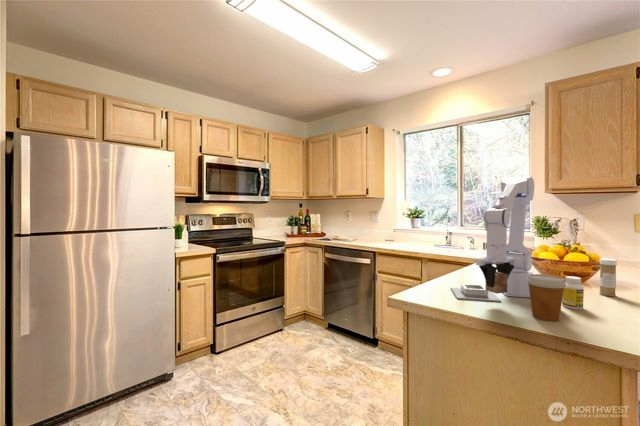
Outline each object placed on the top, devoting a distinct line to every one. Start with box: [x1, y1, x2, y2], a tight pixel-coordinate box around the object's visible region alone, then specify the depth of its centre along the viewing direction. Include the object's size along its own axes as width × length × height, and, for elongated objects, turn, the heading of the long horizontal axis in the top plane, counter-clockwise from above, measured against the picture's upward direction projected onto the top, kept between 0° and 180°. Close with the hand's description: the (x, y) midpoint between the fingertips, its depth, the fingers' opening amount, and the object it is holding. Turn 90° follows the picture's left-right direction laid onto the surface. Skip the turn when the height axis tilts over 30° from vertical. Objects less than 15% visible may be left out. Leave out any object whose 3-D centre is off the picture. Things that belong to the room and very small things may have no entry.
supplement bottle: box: [561, 275, 585, 310], centre depth 100 cm, size 5×5×10 cm
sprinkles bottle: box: [598, 257, 618, 297], centre depth 114 cm, size 5×5×14 cm
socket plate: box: [450, 287, 502, 303], centre depth 114 cm, size 14×14×1 cm
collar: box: [460, 283, 488, 297], centre depth 114 cm, size 8×8×2 cm
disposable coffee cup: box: [527, 273, 566, 322], centre depth 91 cm, size 10×10×12 cm
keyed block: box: [485, 270, 507, 294], centre depth 101 cm, size 4×4×6 cm
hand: (496, 286), depth 101 cm, fingers closed on keyed block, 4 cm apart
